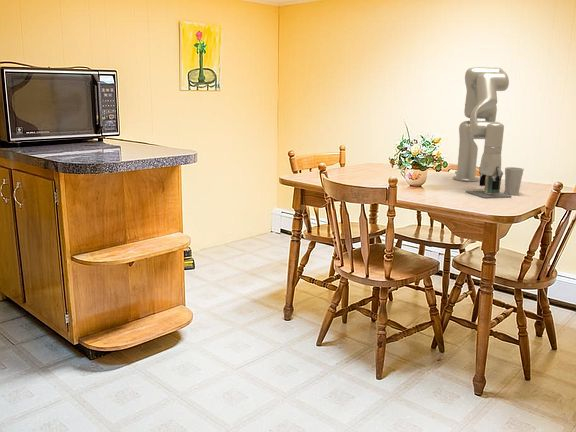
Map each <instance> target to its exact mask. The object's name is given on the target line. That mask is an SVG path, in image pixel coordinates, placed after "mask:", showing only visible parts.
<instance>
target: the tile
mask: <svg viewBox="0 0 576 432" xmlns="http://www.w3.org/2000/svg"><path fill="white" fill-rule="evenodd" d="M495 178H496V177H495ZM492 181H494V180H493V177H492V176H486V179H485V186H484V189H483V190H484V194H500V193H501V186H502V185H501V184H502V178H501V179H500V181H499V189H498V190H492Z"/></svg>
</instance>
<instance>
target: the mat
mask: <svg viewBox="0 0 576 432" xmlns="http://www.w3.org/2000/svg"><path fill="white" fill-rule="evenodd" d="M465 193H467V194H470V195H472V196H475V197H478V198H482V199H505V198H507V199H508V198H511V199H512V195H508V194H505V193H504V192H503V193H502V192H500V194H484V189H483V190H465Z"/></svg>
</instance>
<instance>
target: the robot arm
mask: <svg viewBox="0 0 576 432" xmlns="http://www.w3.org/2000/svg"><path fill="white" fill-rule="evenodd" d="M464 82H465V83H464V84H465V87H466V95H465V103H464V112H463V113H464V116H465V118H467V119H469V120H464V121H462V122H461V123H460V124H459V127H458V134H459V142H458V143H459V147H458V158H457V166H456V167H457V168H456V169H457V170H456V171H455V172H454V174H456V175H454V176H453V180H454V181H460V182H468V183H469V182H478V180H479V186H480V187H485V179H486V176H492V177H493V180H494V181H492V190H498V189H499V181H500V179H501V180H502V178H503V175H504V171H502V151H503V150H502V148H503V141H504V130H505V126H504V124H503V123H501V122H498V121H496V119H497V111H498V107H497V104H498V93H497V92H505V91H506V90H507V89H508V88H509V85H510V80H509V75H508V74H507V72H506V71H504V70H503V69H502V68H501V67H486V66H485V67H484V66H482V67H481V66H479V67H478V66H476V67H474V66H473V67H469V68H467V69H466V72H465V74H464ZM479 119H480V120H479ZM481 119H483V120H481ZM475 140H484V147H483V152H482V155H481V159H480V166H479V167H478V174H479V179H478V177H476V170H477V161H478V149H479V147H478V145H477V143H476V142H475ZM495 177H496V178H495Z"/></svg>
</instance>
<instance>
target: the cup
mask: <svg viewBox="0 0 576 432" xmlns="http://www.w3.org/2000/svg"><path fill="white" fill-rule="evenodd" d="M524 169H525V168H522V167H515V166H514V167H512V166H511V167H510V166H509V167H505V168H504V175H505V176H504V178H505V179H504V192H503V194H506V195H509V196H518V195H520V188H521V182H522V178H523V174H524Z"/></svg>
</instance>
